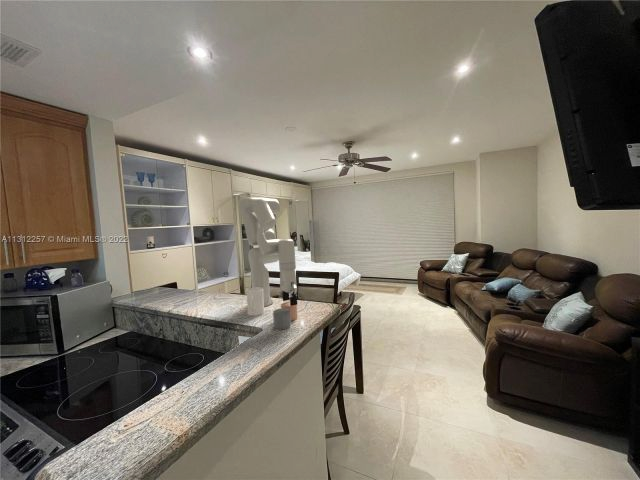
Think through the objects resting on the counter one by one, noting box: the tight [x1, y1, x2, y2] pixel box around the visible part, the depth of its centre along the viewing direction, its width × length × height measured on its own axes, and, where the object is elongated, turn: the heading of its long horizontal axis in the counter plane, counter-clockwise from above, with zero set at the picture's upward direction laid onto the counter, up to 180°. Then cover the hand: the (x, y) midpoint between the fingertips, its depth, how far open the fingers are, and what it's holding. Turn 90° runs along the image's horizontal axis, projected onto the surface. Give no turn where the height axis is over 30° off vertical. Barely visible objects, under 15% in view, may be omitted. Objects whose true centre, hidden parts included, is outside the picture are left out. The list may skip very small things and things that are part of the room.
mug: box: [246, 287, 266, 317], centre depth 125 cm, size 12×8×12 cm
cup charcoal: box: [272, 308, 292, 330], centre depth 109 cm, size 7×7×6 cm
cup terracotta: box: [280, 301, 298, 322], centre depth 118 cm, size 7×7×6 cm
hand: (289, 302), depth 117 cm, fingers open, 9 cm apart
